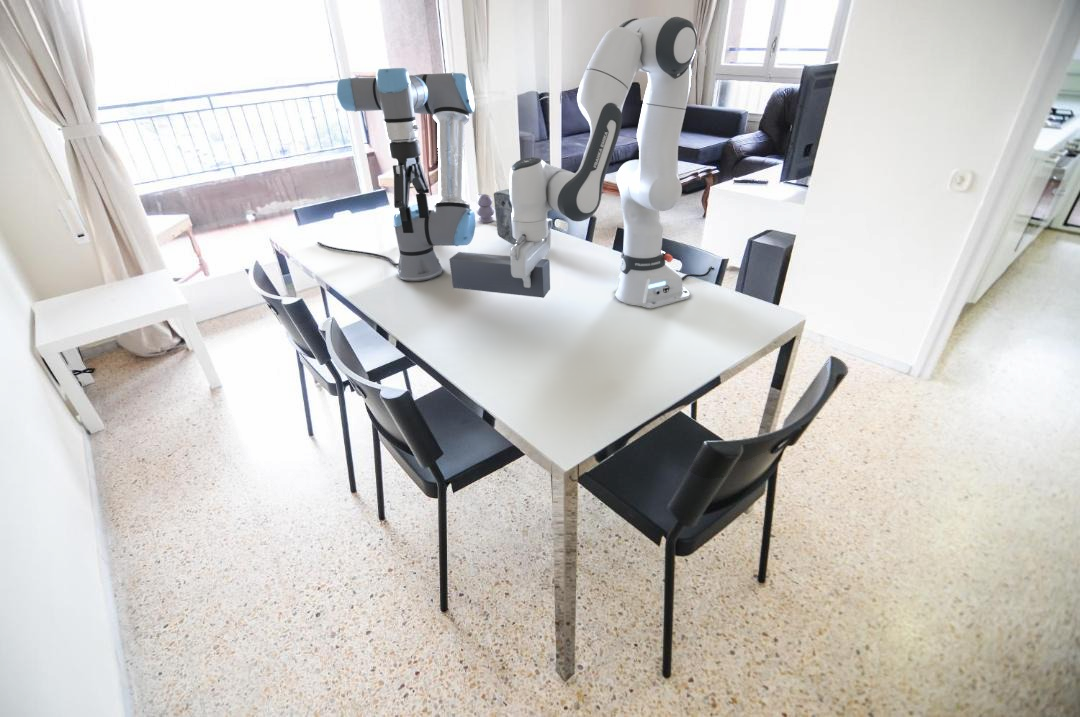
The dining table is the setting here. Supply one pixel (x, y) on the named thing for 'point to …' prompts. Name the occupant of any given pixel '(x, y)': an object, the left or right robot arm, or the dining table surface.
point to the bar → (496, 275)
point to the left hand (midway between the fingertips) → (417, 225)
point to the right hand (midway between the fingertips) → (532, 281)
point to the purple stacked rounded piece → (485, 208)
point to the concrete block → (504, 215)
